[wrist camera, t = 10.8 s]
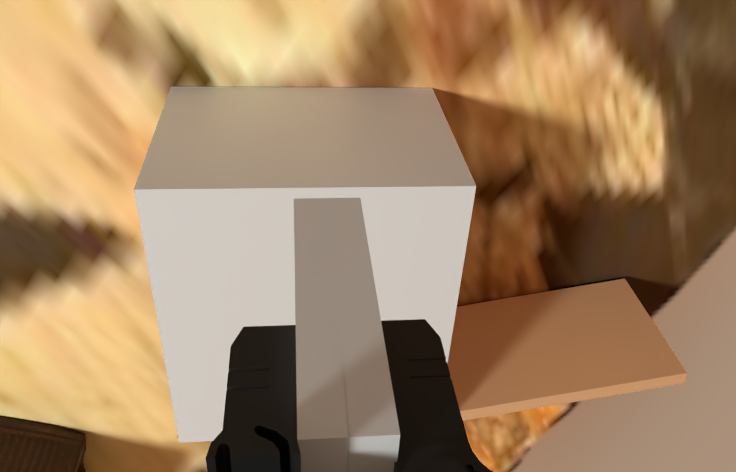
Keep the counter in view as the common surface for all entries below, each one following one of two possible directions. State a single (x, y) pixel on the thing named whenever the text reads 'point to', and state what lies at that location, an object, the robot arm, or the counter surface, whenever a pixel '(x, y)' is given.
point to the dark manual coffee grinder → (39, 447)
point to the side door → (556, 350)
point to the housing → (290, 216)
